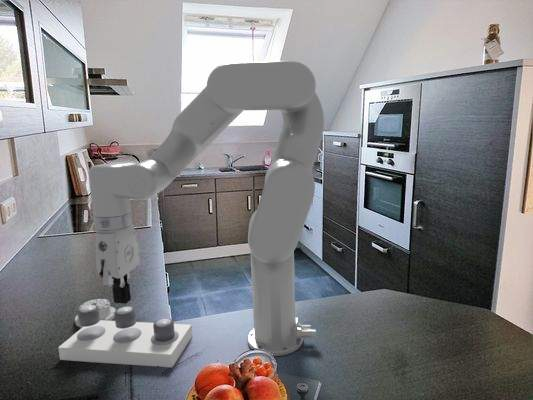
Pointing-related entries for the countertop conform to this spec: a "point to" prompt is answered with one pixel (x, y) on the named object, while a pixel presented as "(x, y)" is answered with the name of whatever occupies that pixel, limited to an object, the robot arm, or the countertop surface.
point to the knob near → (164, 329)
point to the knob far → (88, 315)
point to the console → (125, 345)
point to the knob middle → (125, 317)
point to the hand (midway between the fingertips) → (122, 301)
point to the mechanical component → (100, 310)
